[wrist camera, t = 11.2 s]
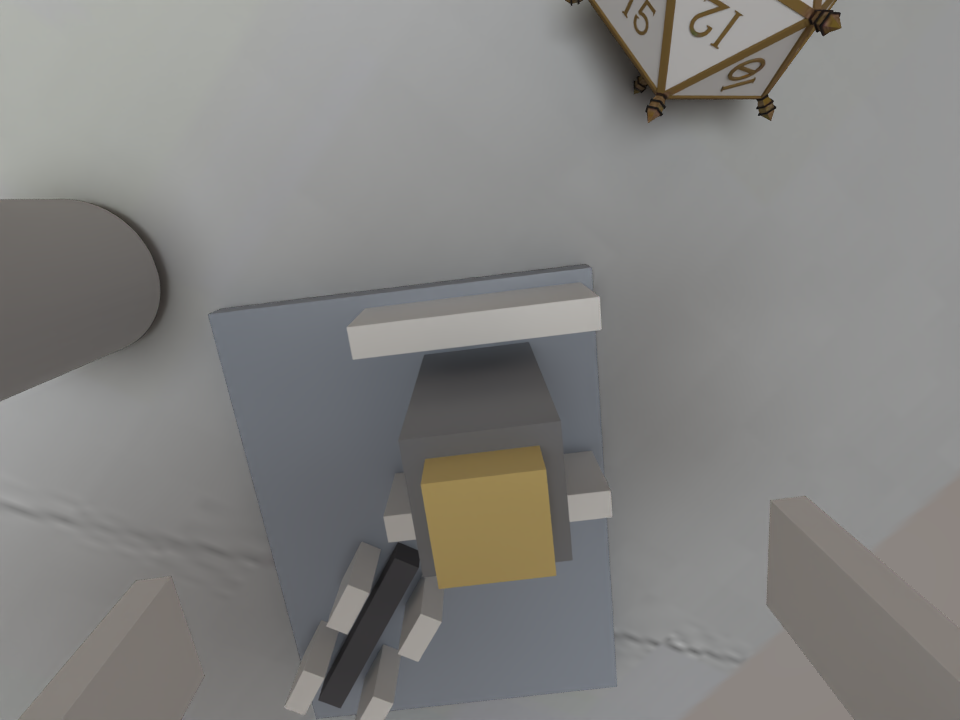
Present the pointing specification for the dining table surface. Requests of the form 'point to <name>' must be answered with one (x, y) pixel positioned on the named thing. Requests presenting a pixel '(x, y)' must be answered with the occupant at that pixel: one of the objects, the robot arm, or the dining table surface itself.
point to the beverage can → (68, 289)
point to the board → (363, 498)
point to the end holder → (474, 326)
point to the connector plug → (485, 468)
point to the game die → (713, 44)
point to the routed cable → (370, 624)
